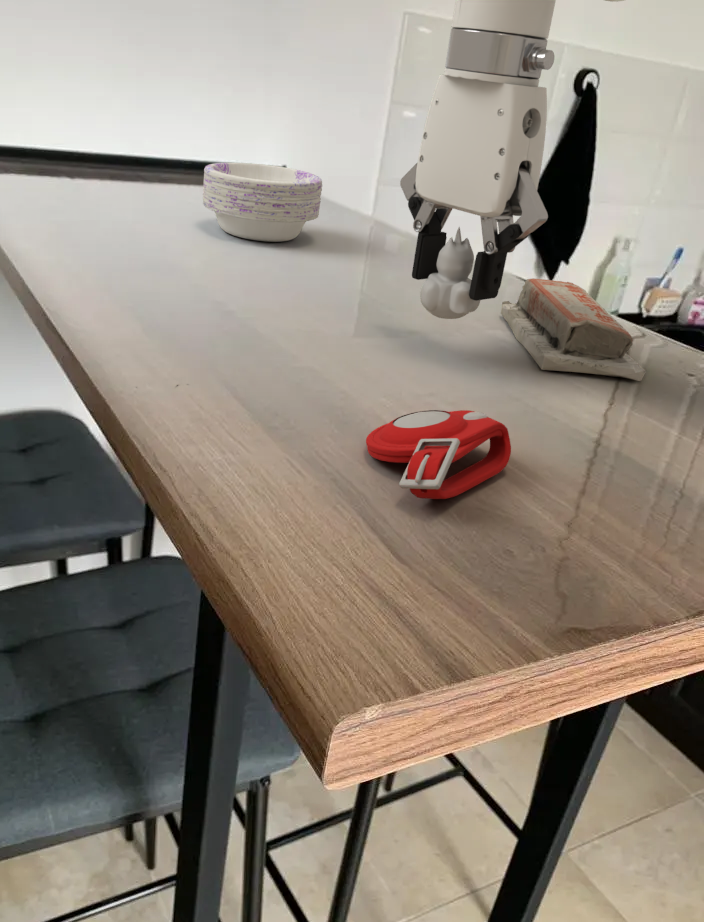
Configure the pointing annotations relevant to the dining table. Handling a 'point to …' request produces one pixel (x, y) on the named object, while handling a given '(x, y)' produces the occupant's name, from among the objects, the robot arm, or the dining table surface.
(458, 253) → the white figurine
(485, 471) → the tracker holder
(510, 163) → the robot arm
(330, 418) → the dining table surface
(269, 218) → the paper bowls
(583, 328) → the packaged product
